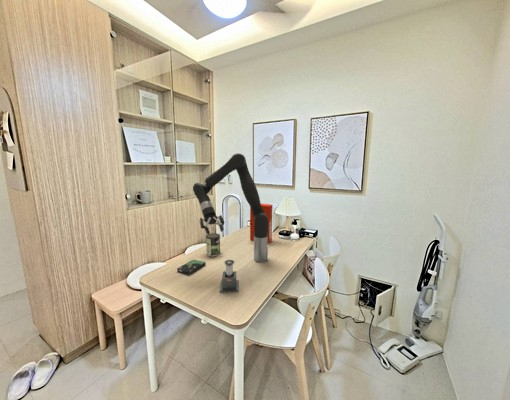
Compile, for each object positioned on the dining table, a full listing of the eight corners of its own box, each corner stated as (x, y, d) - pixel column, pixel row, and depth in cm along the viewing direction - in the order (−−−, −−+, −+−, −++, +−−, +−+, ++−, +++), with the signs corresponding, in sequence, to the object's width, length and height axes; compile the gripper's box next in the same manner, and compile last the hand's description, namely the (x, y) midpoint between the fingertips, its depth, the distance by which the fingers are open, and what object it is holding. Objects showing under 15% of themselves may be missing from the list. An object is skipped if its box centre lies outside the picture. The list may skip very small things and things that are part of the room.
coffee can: (222, 251, 161) (222, 233, 159) (217, 257, 151) (216, 238, 149) (209, 250, 163) (209, 232, 161) (204, 255, 153) (203, 237, 151)
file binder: (268, 243, 177) (269, 206, 172) (250, 240, 184) (250, 204, 178) (271, 240, 185) (272, 204, 179) (253, 237, 191) (253, 202, 186)
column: (234, 281, 117) (234, 259, 115) (234, 287, 112) (233, 263, 110) (225, 282, 117) (224, 259, 115) (224, 287, 112) (224, 264, 110)
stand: (238, 281, 120) (238, 269, 119) (238, 291, 110) (238, 279, 109) (221, 281, 119) (220, 270, 118) (219, 292, 110) (219, 280, 108)
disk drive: (189, 276, 126) (205, 265, 139) (189, 272, 125) (205, 261, 138) (177, 272, 130) (193, 262, 143) (176, 268, 130) (193, 258, 143)
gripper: (197, 207, 125) (205, 231, 118) (219, 205, 133) (228, 227, 126) (195, 214, 130) (202, 237, 123) (216, 211, 138) (224, 233, 131)
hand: (215, 232), depth 124 cm, fingers open, 8 cm apart
